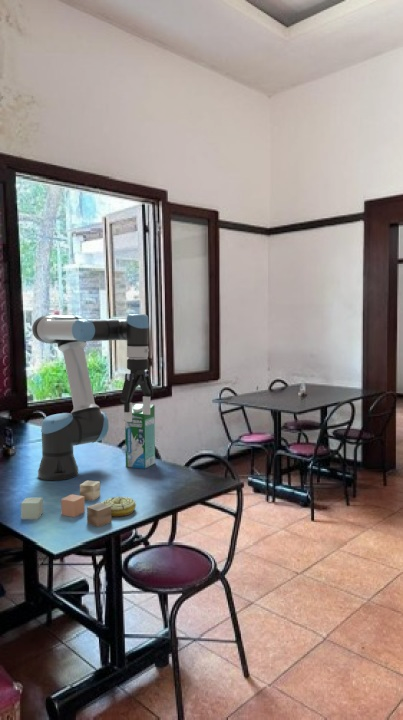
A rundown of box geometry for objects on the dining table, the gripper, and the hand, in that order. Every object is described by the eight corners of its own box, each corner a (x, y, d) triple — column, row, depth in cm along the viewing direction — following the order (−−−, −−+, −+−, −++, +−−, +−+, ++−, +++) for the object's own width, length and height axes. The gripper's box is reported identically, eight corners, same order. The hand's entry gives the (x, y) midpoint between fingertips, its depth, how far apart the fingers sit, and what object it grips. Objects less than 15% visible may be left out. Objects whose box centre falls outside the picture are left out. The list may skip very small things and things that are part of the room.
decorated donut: (111, 504, 168) (111, 493, 167) (141, 508, 164) (140, 496, 164) (94, 515, 158) (94, 503, 158) (126, 520, 154) (125, 507, 154)
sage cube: (21, 519, 155) (20, 503, 155) (26, 513, 160) (26, 497, 160) (37, 519, 155) (37, 503, 155) (42, 513, 160) (42, 497, 160)
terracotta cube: (61, 515, 158) (61, 499, 158) (71, 509, 163) (71, 494, 163) (74, 517, 156) (74, 501, 156) (84, 511, 161) (84, 496, 161)
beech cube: (79, 499, 172) (79, 484, 172) (86, 494, 177) (86, 480, 177) (93, 500, 171) (93, 486, 171) (100, 495, 176) (99, 481, 175)
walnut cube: (87, 523, 152) (86, 507, 151) (100, 518, 156) (100, 502, 155) (98, 527, 148) (97, 511, 148) (111, 522, 152) (111, 506, 152)
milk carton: (125, 466, 211) (124, 406, 209) (136, 461, 219) (135, 403, 217) (145, 469, 207) (144, 407, 206) (155, 463, 216) (154, 404, 214)
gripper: (129, 361, 167) (129, 425, 169) (162, 356, 190) (162, 412, 192) (109, 360, 170) (109, 423, 172) (144, 355, 193) (144, 410, 195)
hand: (137, 417), depth 182 cm, fingers open, 13 cm apart
